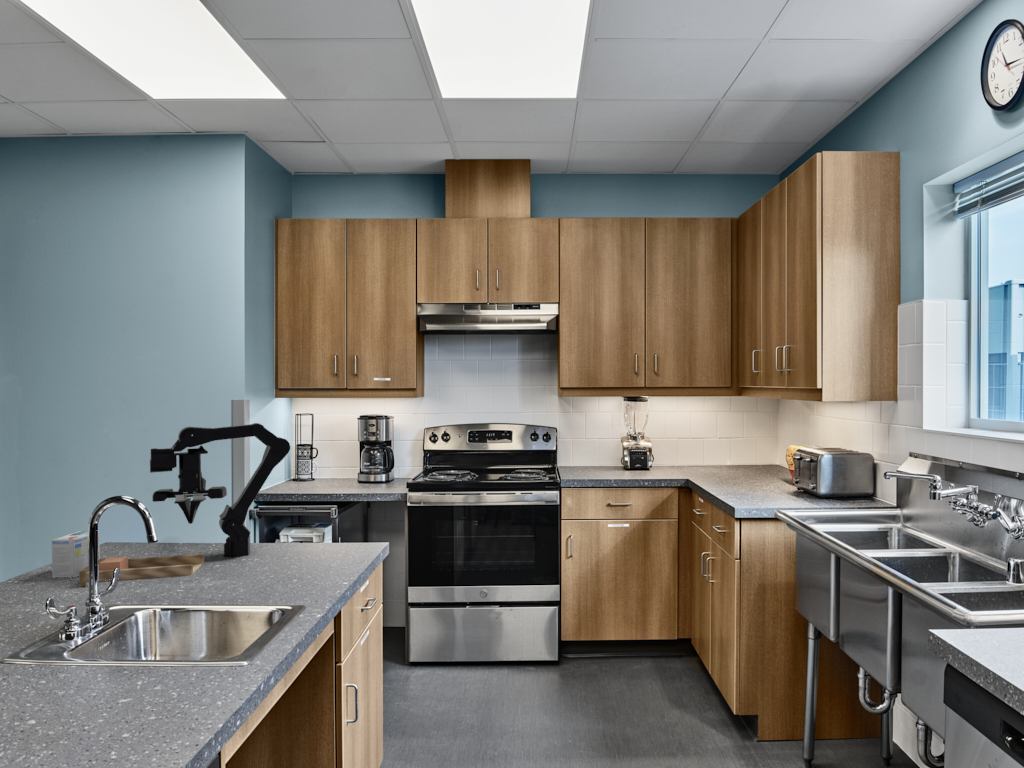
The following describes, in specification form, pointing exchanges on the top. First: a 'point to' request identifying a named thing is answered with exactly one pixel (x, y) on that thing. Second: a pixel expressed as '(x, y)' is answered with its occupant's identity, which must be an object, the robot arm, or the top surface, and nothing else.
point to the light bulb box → (70, 554)
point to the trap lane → (150, 568)
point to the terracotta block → (114, 563)
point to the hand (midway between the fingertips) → (190, 523)
